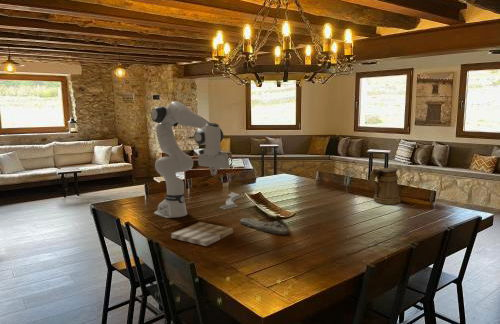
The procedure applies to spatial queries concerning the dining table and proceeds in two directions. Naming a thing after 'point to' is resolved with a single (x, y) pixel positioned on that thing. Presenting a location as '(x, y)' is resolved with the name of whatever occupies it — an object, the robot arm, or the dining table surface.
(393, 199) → the tankard
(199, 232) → the birch plank
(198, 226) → the oak board
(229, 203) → the molding
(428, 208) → the dining table surface
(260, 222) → the long grey stone
